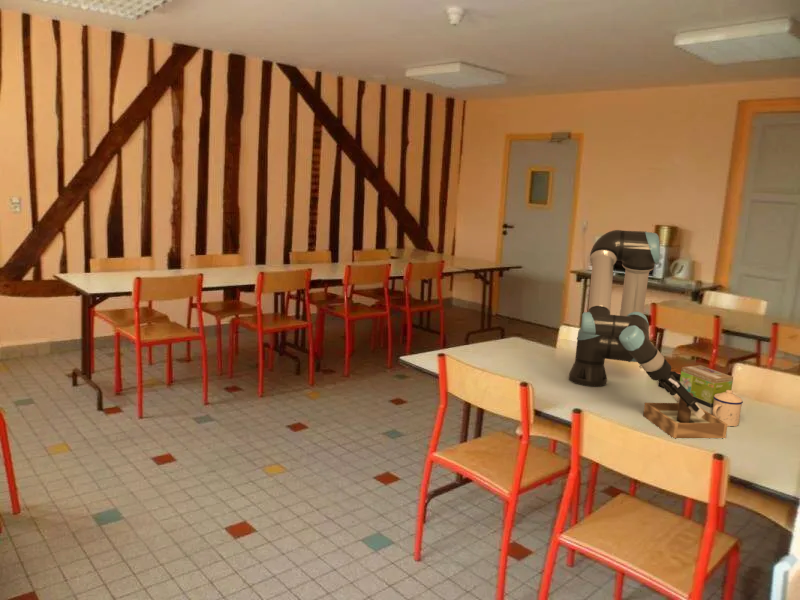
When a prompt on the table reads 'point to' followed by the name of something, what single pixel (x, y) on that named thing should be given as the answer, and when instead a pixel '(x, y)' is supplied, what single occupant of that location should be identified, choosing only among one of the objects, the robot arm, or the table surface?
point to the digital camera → (676, 375)
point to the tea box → (705, 384)
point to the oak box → (697, 428)
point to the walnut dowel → (683, 412)
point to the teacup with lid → (727, 407)
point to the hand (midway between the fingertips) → (694, 411)
